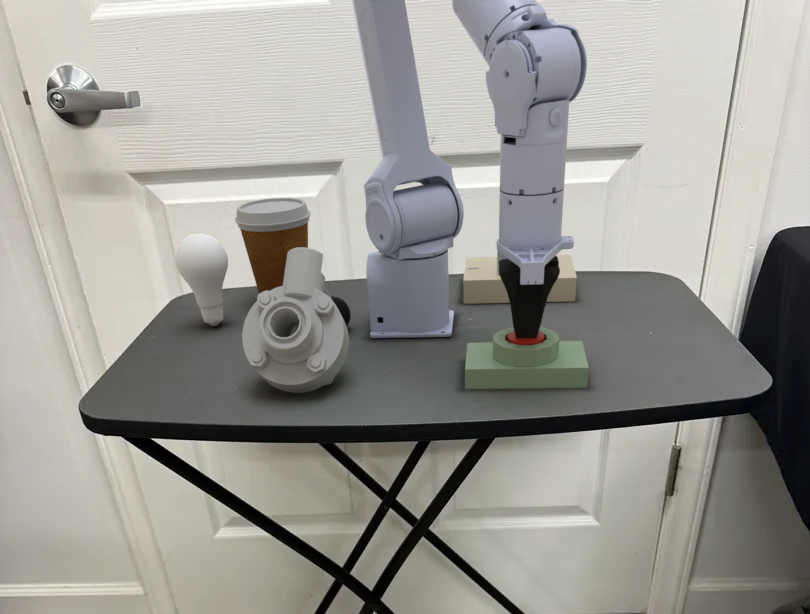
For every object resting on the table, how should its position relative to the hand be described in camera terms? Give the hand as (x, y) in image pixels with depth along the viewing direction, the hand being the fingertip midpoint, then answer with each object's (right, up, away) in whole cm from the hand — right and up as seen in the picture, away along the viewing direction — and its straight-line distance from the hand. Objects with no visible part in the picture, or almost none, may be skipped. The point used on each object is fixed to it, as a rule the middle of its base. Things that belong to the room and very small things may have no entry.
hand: (526, 335), depth 77 cm
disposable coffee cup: (-28, +12, +27) cm, 40 cm away
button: (0, -1, +1) cm, 2 cm away
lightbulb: (-36, +6, +20) cm, 42 cm away
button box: (0, -3, +2) cm, 4 cm away
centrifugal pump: (-22, -1, +9) cm, 24 cm away
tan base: (+3, +13, +25) cm, 28 cm away
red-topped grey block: (+2, +15, +23) cm, 28 cm away
